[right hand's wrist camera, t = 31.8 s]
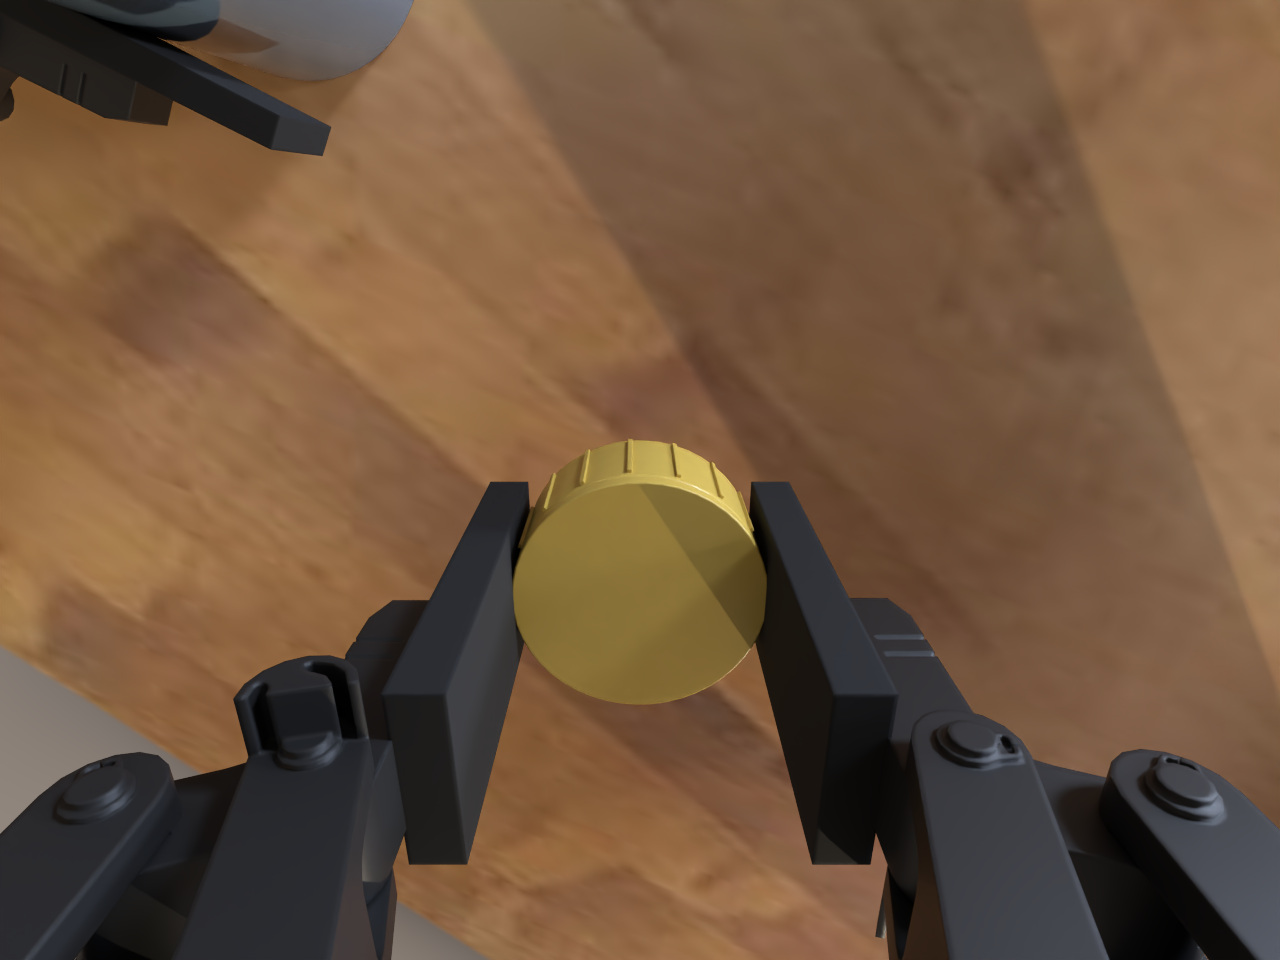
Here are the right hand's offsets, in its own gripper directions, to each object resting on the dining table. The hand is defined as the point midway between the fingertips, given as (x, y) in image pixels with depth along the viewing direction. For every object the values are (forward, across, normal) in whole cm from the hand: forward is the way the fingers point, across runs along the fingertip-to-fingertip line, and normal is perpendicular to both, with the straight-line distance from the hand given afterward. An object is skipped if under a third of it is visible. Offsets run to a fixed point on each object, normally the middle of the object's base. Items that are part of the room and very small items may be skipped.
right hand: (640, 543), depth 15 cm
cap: (-2, 0, 0) cm, 2 cm away
